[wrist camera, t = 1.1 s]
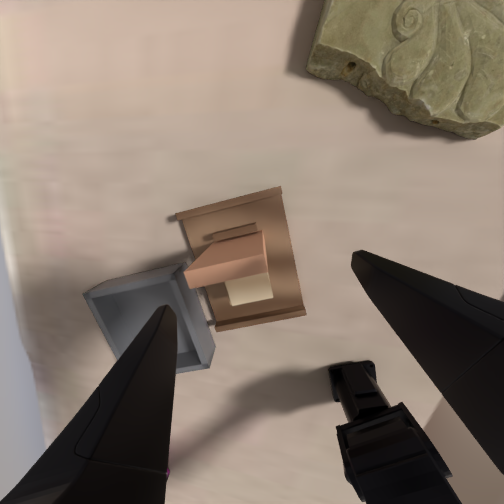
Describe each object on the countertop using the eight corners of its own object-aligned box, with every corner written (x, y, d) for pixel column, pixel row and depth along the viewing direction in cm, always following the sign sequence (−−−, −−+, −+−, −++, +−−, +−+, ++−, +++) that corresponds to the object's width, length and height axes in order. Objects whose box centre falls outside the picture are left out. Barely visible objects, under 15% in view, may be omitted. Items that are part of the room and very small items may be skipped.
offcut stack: (272, 285, 25) (274, 302, 21) (233, 293, 26) (228, 311, 22) (264, 255, 24) (265, 266, 20) (224, 264, 25) (217, 277, 21)
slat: (264, 241, 24) (268, 272, 14) (217, 252, 24) (189, 289, 15) (262, 230, 23) (263, 253, 14) (214, 241, 24) (183, 272, 14)
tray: (215, 346, 29) (209, 368, 26) (144, 359, 30) (128, 381, 27) (185, 262, 26) (173, 273, 22) (106, 280, 27) (82, 293, 23)
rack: (303, 306, 27) (307, 317, 24) (219, 322, 28) (215, 334, 26) (279, 186, 23) (281, 185, 20) (181, 212, 24) (173, 213, 22)
